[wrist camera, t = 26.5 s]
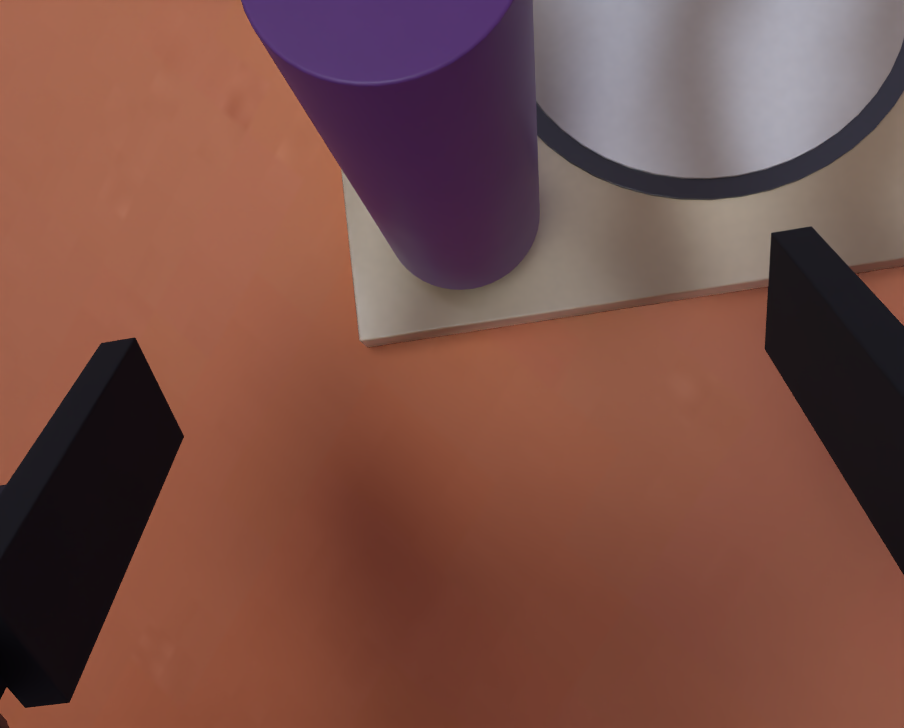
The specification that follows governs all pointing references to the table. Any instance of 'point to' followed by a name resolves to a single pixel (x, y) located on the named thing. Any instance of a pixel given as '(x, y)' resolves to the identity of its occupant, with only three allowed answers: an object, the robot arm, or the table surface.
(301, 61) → the purple cylinder
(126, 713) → the table surface
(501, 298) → the board
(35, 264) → the table surface
